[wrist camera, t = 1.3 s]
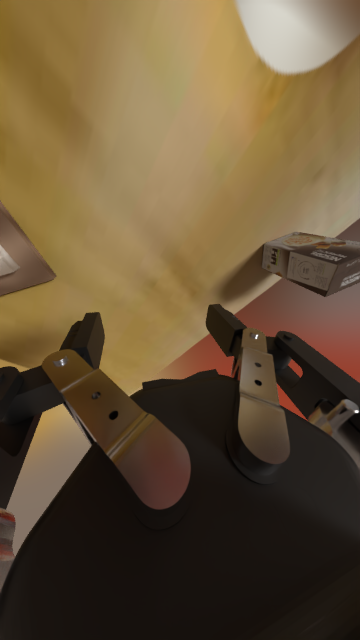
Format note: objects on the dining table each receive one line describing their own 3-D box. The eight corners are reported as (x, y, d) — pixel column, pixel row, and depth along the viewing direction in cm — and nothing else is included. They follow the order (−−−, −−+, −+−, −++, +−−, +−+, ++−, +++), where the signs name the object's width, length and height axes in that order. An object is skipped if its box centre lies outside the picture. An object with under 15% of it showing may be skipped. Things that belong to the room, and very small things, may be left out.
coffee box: (261, 269, 40) (323, 299, 28) (263, 243, 36) (337, 265, 24) (292, 256, 41) (366, 280, 29) (298, 229, 37) (387, 244, 25)
